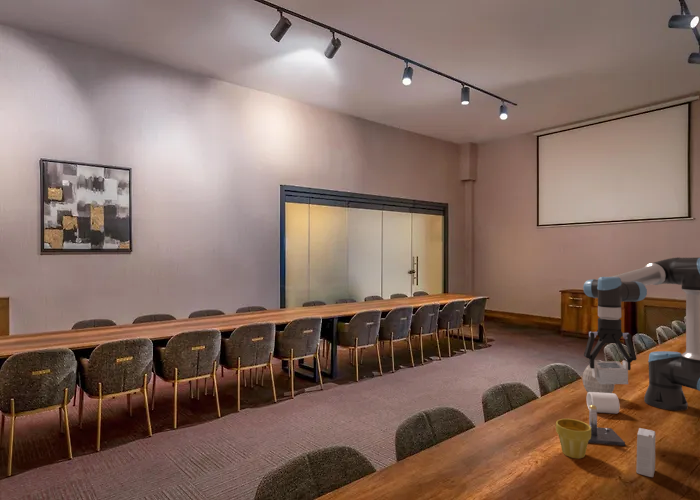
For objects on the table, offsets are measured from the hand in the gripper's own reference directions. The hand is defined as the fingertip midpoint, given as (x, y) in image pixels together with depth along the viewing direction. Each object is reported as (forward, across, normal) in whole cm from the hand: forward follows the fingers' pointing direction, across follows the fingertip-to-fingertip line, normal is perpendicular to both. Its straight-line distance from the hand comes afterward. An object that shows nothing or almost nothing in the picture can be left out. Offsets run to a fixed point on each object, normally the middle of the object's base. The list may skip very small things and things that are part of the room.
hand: (609, 377), depth 156 cm
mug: (+20, -4, -23) cm, 31 cm away
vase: (+20, -9, -41) cm, 47 cm away
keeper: (+20, +8, +6) cm, 22 cm away
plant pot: (+20, +19, +22) cm, 35 cm away
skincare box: (+20, +1, +30) cm, 36 cm away
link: (+1, 0, 0) cm, 1 cm away
